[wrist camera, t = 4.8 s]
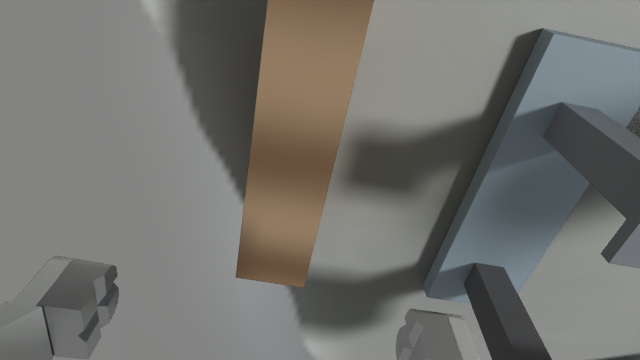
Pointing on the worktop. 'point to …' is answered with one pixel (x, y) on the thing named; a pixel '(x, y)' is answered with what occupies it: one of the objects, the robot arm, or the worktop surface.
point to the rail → (297, 131)
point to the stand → (543, 183)
